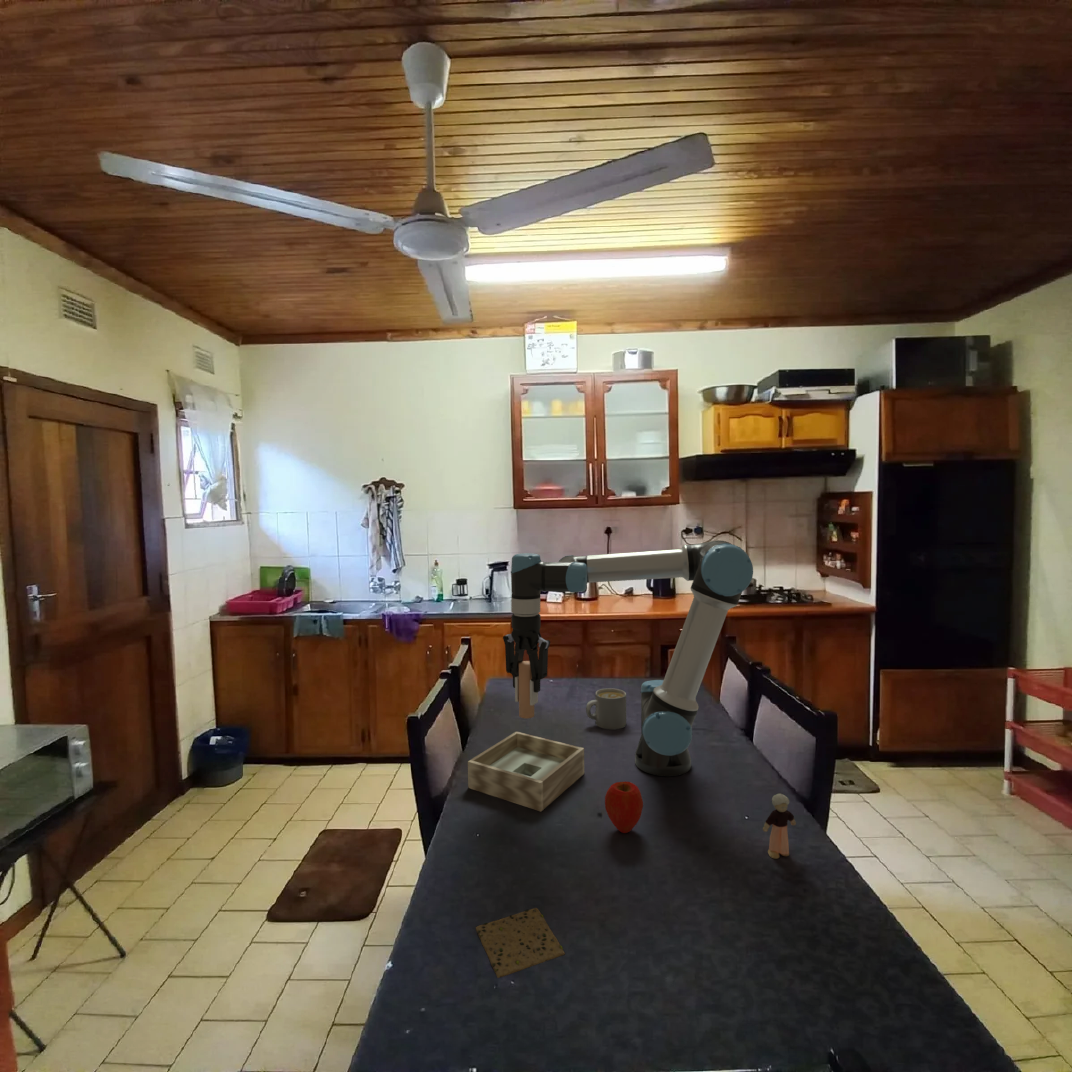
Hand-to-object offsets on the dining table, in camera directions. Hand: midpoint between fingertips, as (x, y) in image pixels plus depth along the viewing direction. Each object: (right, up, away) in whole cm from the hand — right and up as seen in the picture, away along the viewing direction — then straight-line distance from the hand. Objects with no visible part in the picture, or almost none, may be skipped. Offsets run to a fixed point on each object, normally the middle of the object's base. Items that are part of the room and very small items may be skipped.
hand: (526, 701), depth 153 cm
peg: (0, -4, 0) cm, 4 cm away
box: (0, -21, +1) cm, 21 cm away
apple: (+22, -23, -22) cm, 39 cm away
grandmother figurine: (+53, -23, -31) cm, 66 cm away
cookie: (0, -26, -54) cm, 60 cm away
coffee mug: (+25, -18, +38) cm, 49 cm away
